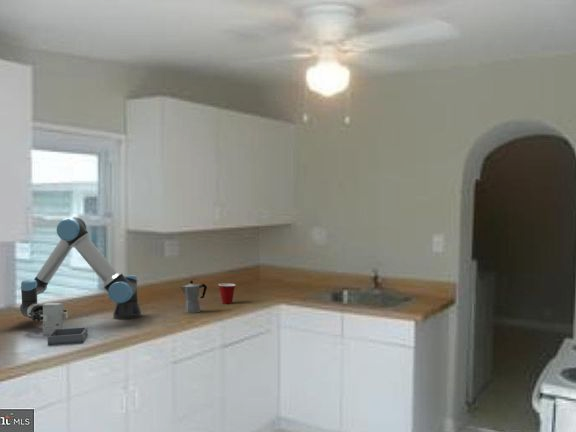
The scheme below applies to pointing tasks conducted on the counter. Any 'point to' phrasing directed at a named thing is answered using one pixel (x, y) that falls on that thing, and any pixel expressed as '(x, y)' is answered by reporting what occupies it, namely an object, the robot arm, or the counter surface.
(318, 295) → the counter surface
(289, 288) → the counter surface
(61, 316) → the skincare box
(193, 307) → the coffeepot
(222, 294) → the plastic cup
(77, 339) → the bin
